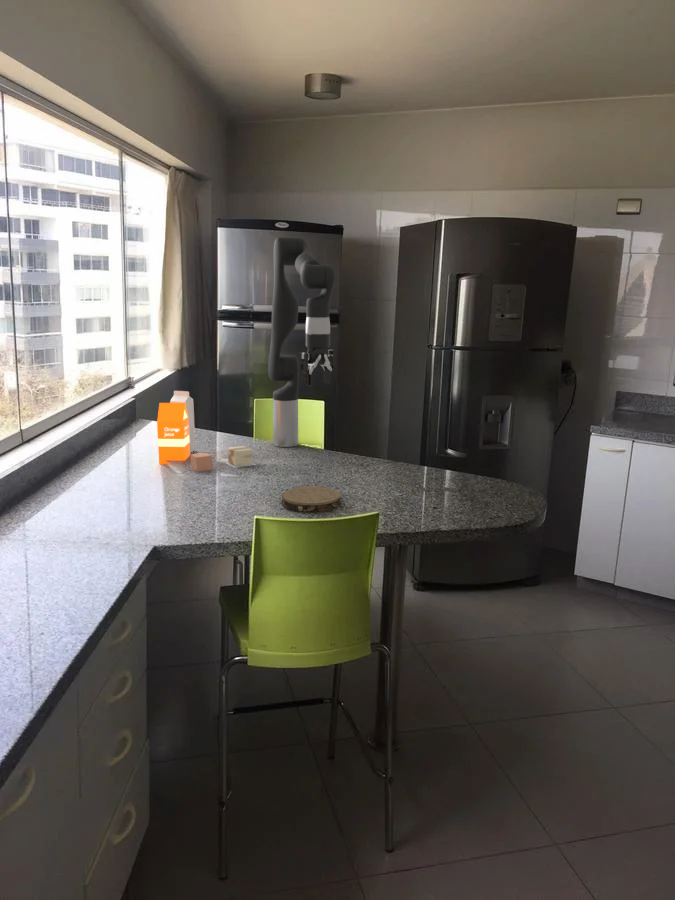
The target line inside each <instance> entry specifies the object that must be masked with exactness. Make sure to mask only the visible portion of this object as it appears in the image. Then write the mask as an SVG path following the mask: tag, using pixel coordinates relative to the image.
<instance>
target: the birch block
mask: <svg viewBox="0 0 675 900" xmlns="http://www.w3.org/2000/svg"><path fill="white" fill-rule="evenodd" d="M227 460H228V461H227V462H228V463H230V464H232V465H233V466H235V467H236V466H243V465H251V464H253V463H254V462H253V449H252V448H251V447H248V446H247V445H240V446H232V447H231V446H230V447H227ZM252 462H253V463H252ZM251 466H252V465H251ZM243 467H244V466H243ZM236 468H237V467H236Z"/></svg>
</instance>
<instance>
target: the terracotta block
mask: <svg viewBox="0 0 675 900" xmlns="http://www.w3.org/2000/svg"><path fill="white" fill-rule="evenodd" d="M212 463H213V462H212V454H210V453H208V452H198V453H196V452H195V453H190V466H191V467H190V468H191V469H192V470H193V471H195V472H197V473H199V472H206V471H212V469H213V467H212V466H213V464H212Z"/></svg>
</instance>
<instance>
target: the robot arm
mask: <svg viewBox="0 0 675 900" xmlns="http://www.w3.org/2000/svg"><path fill="white" fill-rule="evenodd" d="M273 243H274V244H273V291H272V294H273V295H272V303H271V304H272V305H271V331H270V333H271V337H270V345H269V352H268V353H269V355H268V362H267V363H268V364H267V372H268V378H269V379H270V380H271V381H272V382H283V381H284V382H287V383H286V384H285V385H284V386H282V387H280V388H278V389H276V390H273V392H272V431H273V434H272V435H273V437H272V438H273V439H272V440H273V441H272V442H273V446H275V447H281V448H292V447H296V446H298V445H299V375H300V373H303V374H304V385H305V387H312V386H313V374H312V373H313V371H314V369H316V368H317V367H318V366H321V367H322V369H323V376H322V377H323V383H324V384H330V383H331V377H332V371H333V369H336V350H335V349H329V348H330V347H331V322H330V306H331V305H330V304H331V299H332V298H331V297H332V292H333V289H334V286H335V282H336V279H337V278H336V276H337V275H336V271H335V269H334V268H333V266H331V265H330V264H321V263H320V262H319V260H317V259H316V257H314V256H313V253H312V251H311V248H310V247H309V245H308V243H307V241H306V240H305V239H303V238H302V237H297V236H296V237H295V236H290V237H289V236H278V237H277V238H275V240H274V242H273ZM285 266H293V267H294V266H295V271H296V272H297V273H298V274H299V276H300V282H301V286H302V287H303V288H306V289H308V290H312V289H313V290H319V289H320V290H321V292H320V293H319V294H318V295H317V296H312V297H309V298H307V300H306V304H305V306H306V309H305V310H306V312H305V314H306V318H305V319H306V320H305V347H306V348H307V352H299V359H298V357H297V356H296V355H294V354H293V355H292V354H291V355H290V354H288V355H287V354H286V355H284V354H283V355H281V352H282V348H283V346H284V344H285V343H286V341H287V339H288V338H289V336H291V333H292V332H293V331H294V329H295V328H296V326H297V324H298V320H299V306H300V305H299V301H298V298H297V297H296V294H295V293H294V291H293V290H292V288H291V286H290V285H289V282H288V279H287V277H286V273H285Z"/></svg>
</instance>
